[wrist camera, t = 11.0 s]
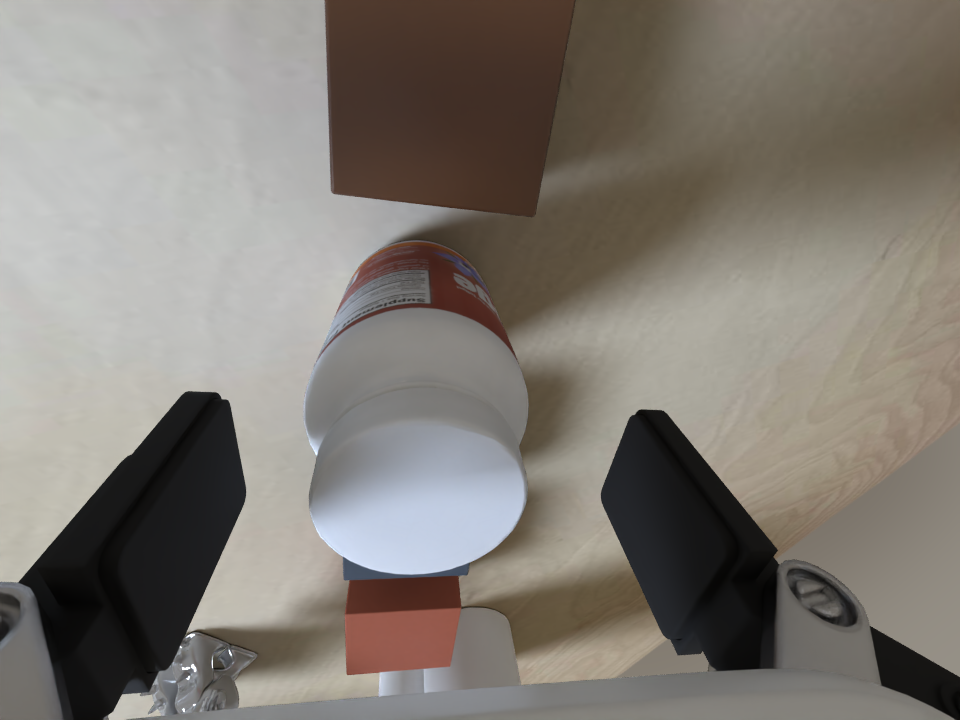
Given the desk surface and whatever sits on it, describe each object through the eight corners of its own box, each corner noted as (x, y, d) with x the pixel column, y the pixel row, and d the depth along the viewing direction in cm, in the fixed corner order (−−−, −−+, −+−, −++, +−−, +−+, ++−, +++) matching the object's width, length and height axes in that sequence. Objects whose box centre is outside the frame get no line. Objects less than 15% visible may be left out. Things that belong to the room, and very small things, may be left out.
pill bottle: (503, 343, 20) (585, 550, 10) (381, 384, 20) (353, 623, 11) (463, 214, 17) (528, 344, 7) (318, 264, 17) (199, 453, 8)
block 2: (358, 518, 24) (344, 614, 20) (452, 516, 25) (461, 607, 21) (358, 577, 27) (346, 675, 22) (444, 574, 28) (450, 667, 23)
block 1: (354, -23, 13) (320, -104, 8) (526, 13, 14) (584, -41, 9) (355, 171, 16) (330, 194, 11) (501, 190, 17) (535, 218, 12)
